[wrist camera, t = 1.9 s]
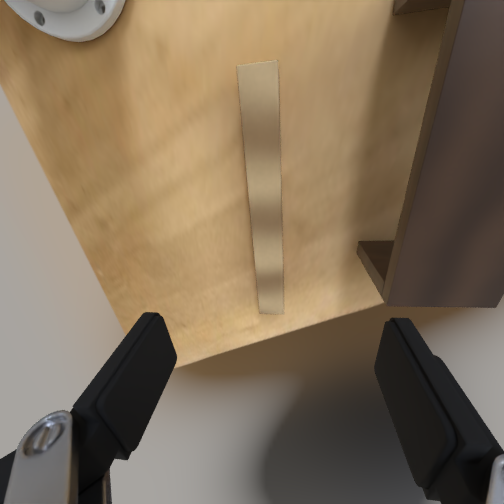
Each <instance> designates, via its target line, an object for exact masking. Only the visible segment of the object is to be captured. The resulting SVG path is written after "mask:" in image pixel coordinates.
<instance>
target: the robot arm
mask: <svg viewBox="0 0 504 504" xmlns="http://www.w3.org/2000/svg"><path fill="white" fill-rule="evenodd" d="M4 1H5V2H6V3H7V4H8V5H9V6H10V7H11V8H12V9H13V10H14V11H15V12H16V13H17V14H18V15H19V16H20V17H21V18H22V19H24V20H25V21H27V22H28V23H30V24H31V25H32V26H34V27H35V28H37V29H38V30H41V31H43V32H45V33H47V34H49V35H51V36H54V37H57V38H60V39H63V40H66V41H74V42H83V41H89V40H93V39H95V38H97V37H99V36H101V35H103V34H104V33H105V32H106V31H107V30H108V29H109V28H110V27H111V26H113V24H114V23H115V21H116V19H117V18H118V16H119V15H120V13H121V11H122V9H123V6H124V3H125V1H126V0H4ZM176 361H177V354H176V352H175V349H174V346H173V343H172V341H171V338H170V335H169V332H168V330H167V327H166V324H165V321H164V319H163V317H162V316H160V314H159V313H153V312H145V313H143V314H142V315H141V317H140V318H139V319H138V321H137V322H136V323H135V325H134V326H133V327H132V329H131V330H130V331H129V333H128V334H127V335H126V337H125V338H124V339H123V341H122V342H121V343H120V345H119V346H118V347H117V348H116V350H115V351H114V352H113V354H112V355H111V356H110V358H109V359H108V360H107V362H106V363H105V364H104V366H103V367H102V368H101V370H100V371H99V372H98V373H97V375H96V376H95V378H94V379H93V380H92V381H91V383H90V384H89V385H88V387H87V388H86V389H85V391H84V392H83V393H82V395H81V396H80V397H79V399H78V400H77V401H76V402H75V404H74V405H73V409H72V410H71V411H70V413H69V412H68V411H65V410H61V411H56V412H53V413H51V414H48V415H47V416H45V417H43V418H42V419H40V420H39V421H38V422H37V423H36V424H34V425H33V426H32V427H31V428H30V429H29V430H28V431H27V433H26V434H25V435H24V436H23V438H22V439H21V441H20V443H19V445H18V448H17V449H16V450H15V451H13V452H11V453H10V454H8V455H7V456H5V457H3V458H1V459H0V504H112V499H111V483H110V466H111V464H112V462H113V460H114V458H115V459H122V460H128V459H129V456H130V454H131V452H132V451H134V450H135V449H136V448H137V446H138V445H139V442H140V440H141V438H142V436H143V434H144V431H145V429H146V427H147V425H148V423H149V420H150V419H151V416H152V414H153V412H154V410H155V408H156V405H157V403H158V401H159V399H160V396H161V395H162V392H163V390H164V388H165V386H166V384H167V382H168V379H169V377H170V375H171V373H172V371H173V369H174V366H175V364H176ZM374 369H375V374H376V377H377V380H378V383H379V386H380V388H381V391H382V394H383V396H384V399H385V402H386V405H387V407H388V410H389V413H390V416H391V418H392V421H393V424H394V427H395V429H396V432H397V434H398V438H399V440H400V443H401V445H402V448H403V451H404V454H405V457H406V459H407V462H408V465H409V468H410V470H411V473H412V475H413V478H414V481H415V482H416V484H417V485H418V486H419V487H422V488H423V491H424V493H425V496H426V499H428V500H436V501H440V502H441V504H504V451H503V449H502V448H501V446H500V445H499V443H498V442H497V440H496V439H495V438H494V436H493V435H492V434H491V432H490V430H489V429H488V427H487V426H486V424H485V423H484V422H483V420H482V418H481V417H480V415H479V414H478V412H477V411H476V409H475V408H474V406H473V405H472V404H471V402H470V400H469V399H468V398H467V396H466V395H465V393H464V392H463V390H462V389H461V387H460V386H459V384H458V383H457V381H456V380H455V378H454V377H453V375H452V374H451V372H450V371H449V369H448V368H447V366H446V365H445V363H444V362H443V361H442V360H441V359H440V358H439V357H437V356H435V355H433V354H432V352H431V351H430V349H429V348H428V346H427V344H426V343H425V341H424V340H423V338H422V337H421V335H420V334H419V332H418V331H417V329H416V328H415V326H414V324H413V323H412V321H411V320H410V319H409V318H391V319H390V321H387V322H385V325H384V330H383V333H382V337H381V341H380V345H379V349H378V353H377V357H376V362H375V366H374Z"/></svg>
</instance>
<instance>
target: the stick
mask: <svg viewBox="0 0 504 504" xmlns="http://www.w3.org/2000/svg"><path fill="white" fill-rule="evenodd" d="M237 78H238V89H239V99H240V110H241V121H242V132H243V142H244V153H245V164H246V174H247V185H248V196H249V206H250V217H251V228H252V239H253V249H254V260H255V271H256V281H257V292H258V303H259V313H260V314H284V266H283V224H282V181H281V138H280V95H279V66H278V60H271V61H264V62H257V63H250V64H242V65H237Z"/></svg>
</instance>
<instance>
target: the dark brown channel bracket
mask: <svg viewBox="0 0 504 504" xmlns="http://www.w3.org/2000/svg"><path fill="white" fill-rule="evenodd" d="M449 6H450V8H449V12H448V16H447V21H446V25H445V29H444V33H443V38H442V42H441V46H440V50H439V55H438V59H437V63H436V67H435V72H434V76H433V80H432V84H431V89H430V93H429V97H428V101H427V106H426V110H425V114H424V118H423V123H422V127H421V131H420V135H419V140H418V144H417V148H416V152H415V157H414V161H413V165H412V169H411V174H410V178H409V182H408V186H407V191H406V195H405V199H404V203H403V208H402V212H401V216H400V220H399V224H398V229H397V233H396V237H395V241H359V242H358V248H357V255H358V256H359V258H360V260H361V262H362V264H363V265H364V267H365V269H366V271H367V272H368V274H369V276H370V278H371V279H372V281H373V283H374V285H375V286H376V288H377V290H378V292H379V293H380V295H381V296H382V299H383V301H384V302H385V304H386V306H411V307H481V308H482V307H483V308H496V307H497V305H498V303H499V301H500V300H501V298H502V296H503V294H504V0H395V4H394V10H393V15H398V14H404V13H411V12H417V11H423V10H430V9H436V8H443V7H449Z"/></svg>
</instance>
